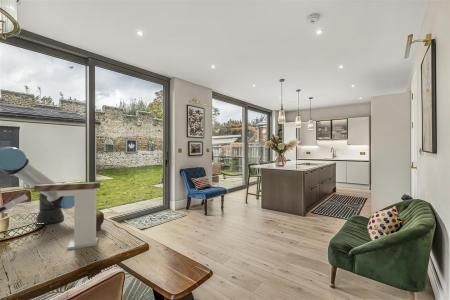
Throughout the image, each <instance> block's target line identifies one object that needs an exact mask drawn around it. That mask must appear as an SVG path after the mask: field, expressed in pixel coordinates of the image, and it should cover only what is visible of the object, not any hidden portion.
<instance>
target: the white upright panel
mask: <svg viewBox="0 0 450 300" xmlns="http://www.w3.org/2000/svg"><path fill="white" fill-rule="evenodd" d="M60 196H74V207H73V208H74V211H73V212H74V215H73V217H74V218H73V219H74V220H73V222H74V224H73V225H74V227H73V228H74V230H73V231H74V233H73V235H74V237H73V240H70V241H69V243H68V245H67V246H66V250H75V249H82V248H89V247H96V246H98V241H99V237H97V231H96V211H97V188H95V189H81V190H62V191H58V197H60Z"/></svg>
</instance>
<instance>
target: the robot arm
mask: <svg viewBox="0 0 450 300" xmlns="http://www.w3.org/2000/svg"><path fill="white" fill-rule="evenodd" d="M0 171H1V172H2V173H4V174H6V175H8V176H15V177H16V178H18V179H20V180H21V181H23V183H25V184H27V185H28V186H30V187H32V188H33V189H34V186H35V185H42V184H57V183H56V182H54V180H52V179H51V178H49V177H48V176H46V175H45V174H44V173H42V172H41V170H40V171H39V170H38V169H37V168H35V167H34V166H33V165H31V164H30V160H29V158H27V155H26V154H25V152H24V151H23V150H22V149H19V148H17V147H13V146H0ZM38 196H39V197H38V198H39V199H38V200H39V202H38V203H39V204H38V205H39V206H38V207H39V208H38V209H39V212H38V214H37V217H36V219H35V223H36V222H37V223H44V224H45V226H46V225H52V224H56V223H60V222H62V221H64V220H65V215H64V213H63V210H70V209H72V208H74V196H60V197H58V191H42V192H39V194H38ZM28 199H29V197H28V196H27V195H26V194H25V193H24V194H23V195H20V196H18V197H17V198H15V199H12V200H8V202H7V203H5V204H3V205H1V206H0V214H3V213H5V212H6V211H8V210H10V209H13V208H15V207H16V206H17V205H19V204H21V203H23V202H24V201H26V200H28Z"/></svg>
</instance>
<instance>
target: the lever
mask: <svg viewBox="0 0 450 300" xmlns="http://www.w3.org/2000/svg"><path fill="white" fill-rule="evenodd" d="M95 188H96V189H100V188H101V182H96V181H93V182H92V181H90V182H75V183H74V182H71V183H70V182H69V183H56V184H42V185H35V186H34V188H33V192H34V193H38V192H42V191H62V190H81V189H95Z"/></svg>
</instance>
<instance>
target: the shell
mask: <svg viewBox="0 0 450 300" xmlns="http://www.w3.org/2000/svg"><path fill="white" fill-rule="evenodd" d="M104 219H105V215H104V212H102V211H101V210H96V232H98V231H100V230H101V228H102V225H103V224H104Z"/></svg>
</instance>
